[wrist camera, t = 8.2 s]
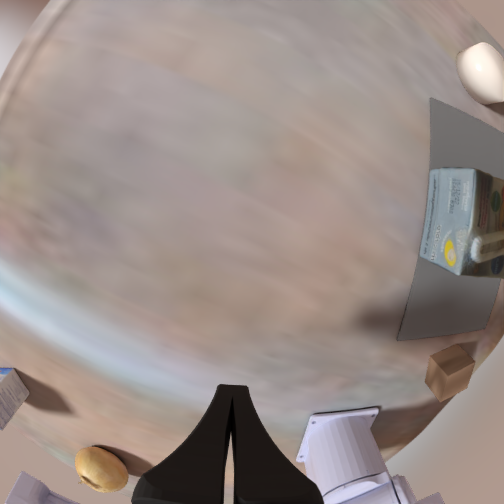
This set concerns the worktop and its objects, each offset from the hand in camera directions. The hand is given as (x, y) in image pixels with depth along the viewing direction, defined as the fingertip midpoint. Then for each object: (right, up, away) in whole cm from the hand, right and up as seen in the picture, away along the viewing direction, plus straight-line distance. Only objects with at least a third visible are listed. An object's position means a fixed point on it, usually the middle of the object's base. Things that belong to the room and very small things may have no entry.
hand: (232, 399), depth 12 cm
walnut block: (+22, -6, +12) cm, 26 cm away
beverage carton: (+24, +10, +8) cm, 27 cm away
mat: (+22, +9, +8) cm, 25 cm away
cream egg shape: (+23, +24, +4) cm, 34 cm away
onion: (-20, -22, +16) cm, 34 cm away
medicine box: (-33, -11, +13) cm, 37 cm away
